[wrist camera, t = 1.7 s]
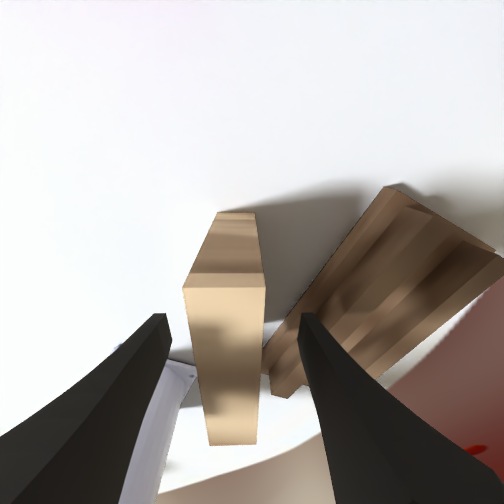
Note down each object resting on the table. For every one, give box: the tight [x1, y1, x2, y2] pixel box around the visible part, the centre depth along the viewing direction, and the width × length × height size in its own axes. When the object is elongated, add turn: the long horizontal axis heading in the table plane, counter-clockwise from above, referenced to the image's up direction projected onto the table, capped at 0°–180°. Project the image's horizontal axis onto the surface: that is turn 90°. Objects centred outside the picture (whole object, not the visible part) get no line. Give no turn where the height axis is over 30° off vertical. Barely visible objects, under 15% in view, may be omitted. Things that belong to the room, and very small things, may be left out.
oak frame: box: [182, 212, 266, 446], centre depth 12 cm, size 10×2×8 cm, turn 179°
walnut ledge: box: [261, 187, 504, 399], centre depth 15 cm, size 18×9×3 cm, turn 154°
